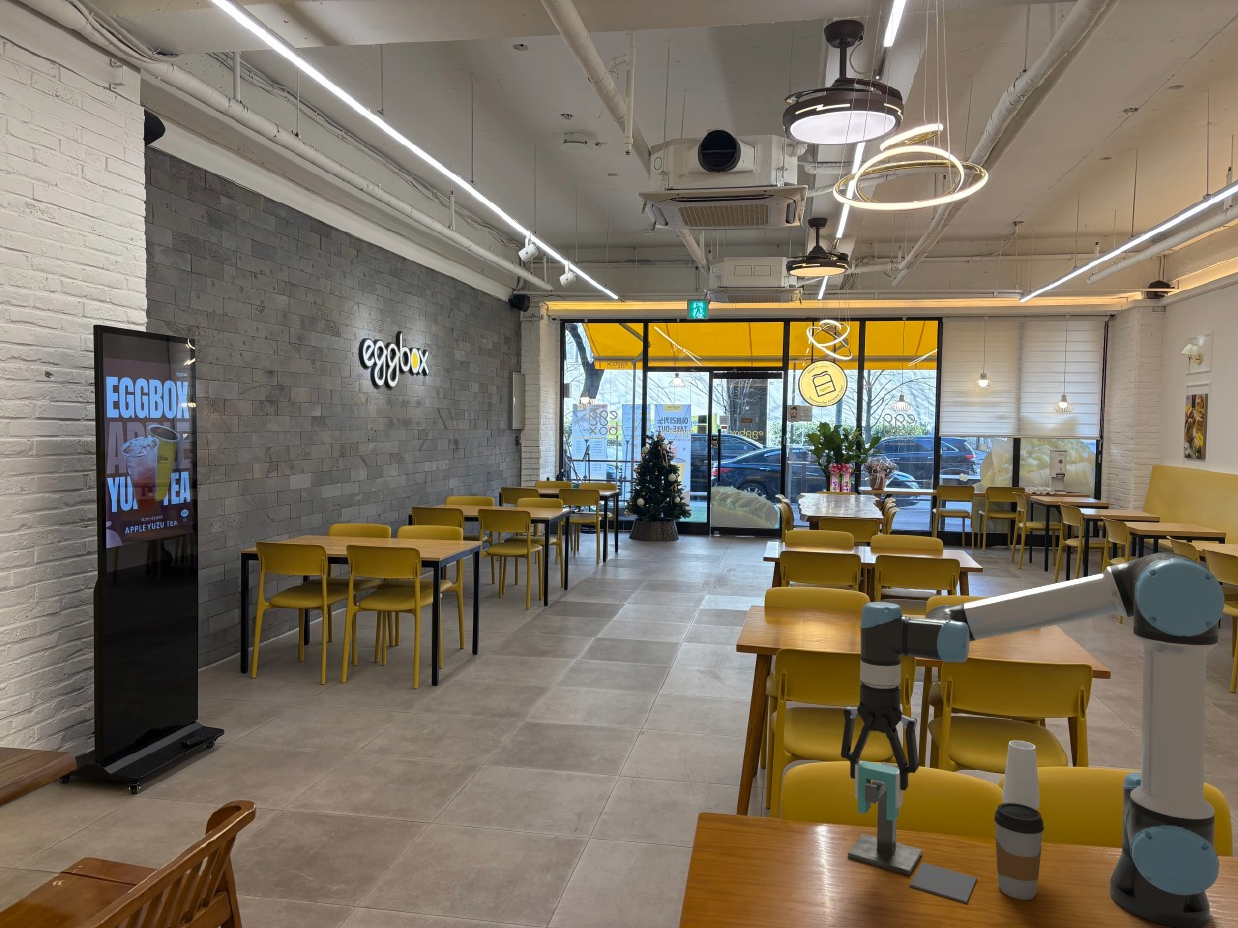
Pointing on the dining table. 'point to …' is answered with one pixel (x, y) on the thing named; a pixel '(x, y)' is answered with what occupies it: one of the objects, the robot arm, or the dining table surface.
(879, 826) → the stand
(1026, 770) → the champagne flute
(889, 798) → the u-shaped block
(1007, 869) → the coffee cup
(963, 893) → the mat
